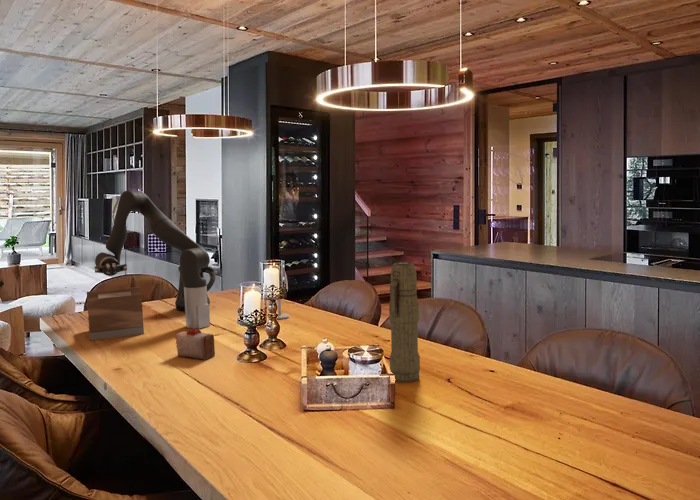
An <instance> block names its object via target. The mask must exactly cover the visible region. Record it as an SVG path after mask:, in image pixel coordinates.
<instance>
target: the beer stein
mask: <svg viewBox="0 0 700 500" xmlns="http://www.w3.org/2000/svg"><path fill="white" fill-rule="evenodd" d="M178 272H179V279H178V280H179V281H178V289H177V297H176V299H175V302H174V304H175V310H176V311H178V312H183V313H185V296H184V283H183V281H182V277H181V268H180V265H179V266H178ZM204 273H207V274H208V275H209V277H210V278H209V280H208V283H206V286H207V293H208V292H209V291H210V290H211V289H212V287H213V286H214V285H215V283H216V282H215V281H216V272H215V269H213V267H211V266H209V265H208V266H207V267H205V268H203V269H199V270H198V274H199V276H200V277H201V278H204V279H205V277H204V276H205V275H204ZM207 304H209V306H210V304H211V301H210V298H209V296H208V294H207Z"/></svg>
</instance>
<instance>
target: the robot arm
mask: <svg viewBox="0 0 700 500" xmlns="http://www.w3.org/2000/svg"><path fill="white" fill-rule="evenodd" d="M131 212H132V213H133V212H136V213H139V214H141V215H142V216H144V218H145V219H146V220H147V221H148V225H149V229H150V231H151V233H152V234H153V235H154V236H155V237H156V238H157V239H159V241H160V242H162V243H164V244H166V245H168V246H170V247H173V248H174V249H177V250H179V251H180V252H181V254H180V257H179V266H180V268H181V277H182V281H183V283H184V296H185V312H184V313H185V327H186V328H187V329H198V328H199V330H200V329H204V328H206V327H210V326H211V318H210V316H211V315H210V314H211V313H210V305H209V304H207V295H208V292H207V279H206V278H205V277H204V278H201V277H200V276H199V274H198V270H199V269H203V268H205V267H207V266H208V267H209V264H210V261H211V259H210V255H209V253H208V252H207V251H206V249H205V248H203V246H201V245H200V244H199V243H197V242H196V241H194V240H193V239H192V238H190V237H189V236H188V235H187V234H186V233H185V232H184V231H183V230H181V228H179V227H178V226H177V224H175V222H173V221H172V220H171V219H170V218H169V217H168V216H167V215H165V214H164V212H162V211H161V210H160V209H159V208H158V207H157V206H156V205H155V204H154V202H153V201H152V200H151V199H150V197H149V196H148V195H147V194H146V193H145V192H143V191H140V190H139V191H138V190H129V189H127V190H125V191H122V193H121V195H120V197H119V199H118V203H117V207H116V213H115V217H114V221H113V225H112V228H111V231H110V234H109V236H108V239H107V241H106V243H105V249H106V250H107V251H108V252H110V253H111V254H110V253H107V252H104V251H103V252H100V253H98V254H97V255H96V256H95V258H94V259H95V260H94V265H95V266H94V273H96V274H103V275H105V276H108V277H112V276H115V275H117V274H119V273H120V272H125V271H127V270H128V268H127V267H128V265H127V263H124V264H121V256H122V251H123V248H124V245H125V244H126V241H127V237H128V229H127V228H128V227H127V219H128V218H129V215H130V213H131Z"/></svg>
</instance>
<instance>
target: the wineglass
mask: <svg viewBox="0 0 700 500" xmlns="http://www.w3.org/2000/svg"><path fill="white" fill-rule="evenodd" d="M285 284H286V289H287V291H288V290H289V286H288V285H289V284H288V276H287V273H286V272H285ZM282 300H283V299H280V300H276V301H277V310H278V311H277V314H278V318H277V319H276V320H284V319H289V318H290V315H291V314H289V313H285V312H284V313H282Z"/></svg>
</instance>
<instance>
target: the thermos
mask: <svg viewBox="0 0 700 500" xmlns="http://www.w3.org/2000/svg"><path fill="white" fill-rule="evenodd" d="M417 280H418V278H417V270H416V266H415V264H414V263H412V262H410V261H397V262H395V263H393V264H392V267H391V271H390V284H389V303H388V304H389V305H388V313H389V315H388V317H389V319H388V320H389V322H390V332H391V334H390V336H391V338H390V339H391V344H390V345H391V348H390V349H391V352H390V355H389V370H390V373H391V372H392V373H393V374H394V375H395V379H396V381H395V382H397V383H414V382H416V381H419V380H420V370H421V363H420V362H421V357H420V353H419V343H418V341H419V340H418V338H419V337H418V336H419V335H418V332H419V331H418V329H419V328H418V327H419V326H418V324H419V321H420V306H419V305H420V301H419V299H418V295H417V294H418V293H417V292H418V291H417V289H418V288H417V287H418V286H417V282H418V281H417Z"/></svg>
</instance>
